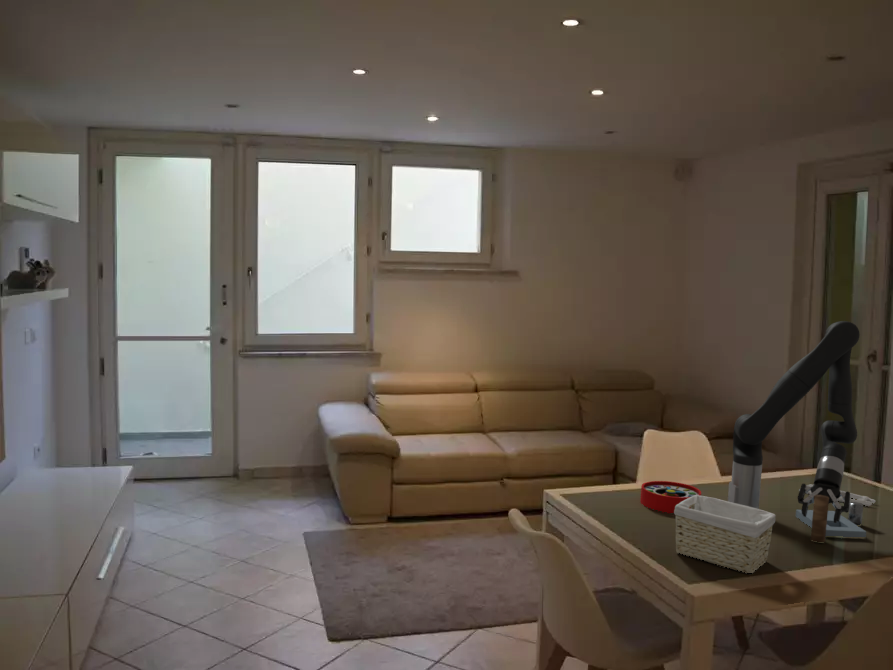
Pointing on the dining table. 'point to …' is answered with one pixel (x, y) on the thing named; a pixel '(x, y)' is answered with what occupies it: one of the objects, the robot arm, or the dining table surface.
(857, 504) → the short pin
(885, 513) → the dining table surface
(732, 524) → the storage basket
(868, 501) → the door handle
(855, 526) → the hole board
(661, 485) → the toy clock
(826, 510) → the long pin
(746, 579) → the dining table surface
